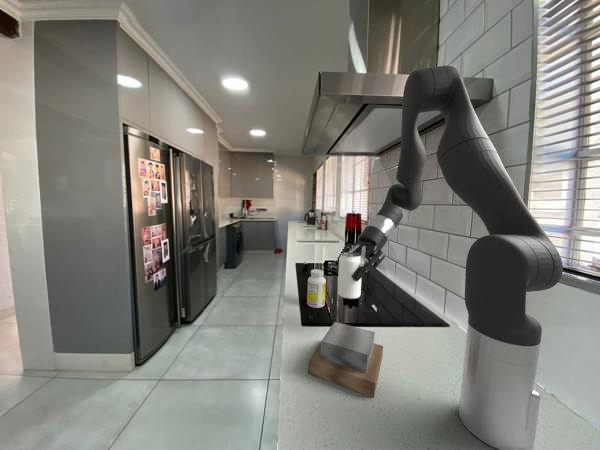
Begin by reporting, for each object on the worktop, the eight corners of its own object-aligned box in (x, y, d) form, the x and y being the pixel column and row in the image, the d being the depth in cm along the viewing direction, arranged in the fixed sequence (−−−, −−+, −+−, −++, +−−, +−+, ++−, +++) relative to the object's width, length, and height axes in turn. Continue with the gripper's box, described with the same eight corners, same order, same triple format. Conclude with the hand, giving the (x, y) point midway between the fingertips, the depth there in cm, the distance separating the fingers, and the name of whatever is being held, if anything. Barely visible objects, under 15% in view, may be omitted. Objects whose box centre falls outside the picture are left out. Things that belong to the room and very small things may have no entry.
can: (343, 300, 65) (345, 256, 64) (334, 292, 72) (335, 252, 71) (364, 298, 67) (366, 256, 66) (353, 290, 73) (355, 251, 72)
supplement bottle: (320, 300, 93) (322, 268, 92) (327, 307, 87) (329, 273, 86) (304, 301, 91) (305, 268, 90) (310, 309, 85) (311, 273, 84)
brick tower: (382, 357, 59) (384, 330, 59) (373, 397, 47) (376, 363, 46) (328, 341, 65) (329, 316, 65) (307, 373, 53) (309, 342, 52)
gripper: (354, 223, 78) (323, 262, 73) (391, 226, 65) (357, 274, 60) (365, 238, 81) (336, 277, 76) (402, 245, 68) (370, 291, 63)
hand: (345, 275), depth 68 cm, fingers closed on can, 6 cm apart
